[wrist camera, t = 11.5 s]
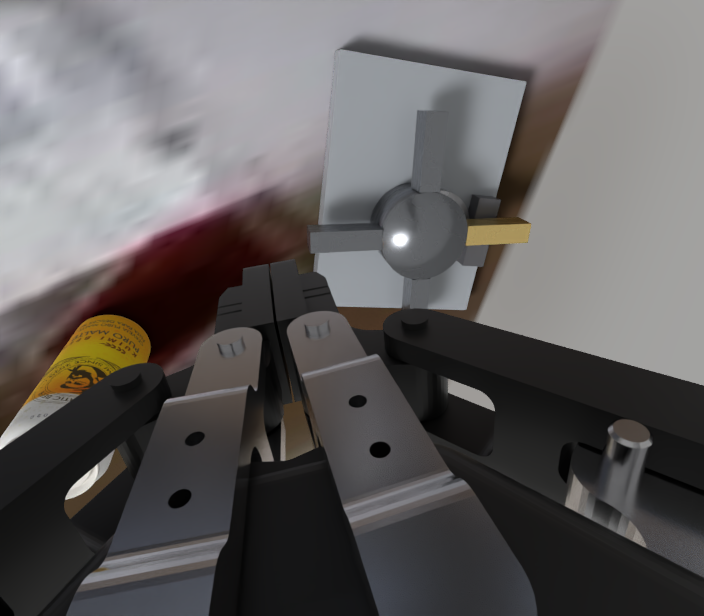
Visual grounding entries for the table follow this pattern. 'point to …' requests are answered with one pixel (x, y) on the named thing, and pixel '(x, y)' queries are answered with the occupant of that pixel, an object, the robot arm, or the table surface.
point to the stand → (409, 163)
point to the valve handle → (419, 221)
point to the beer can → (82, 377)
